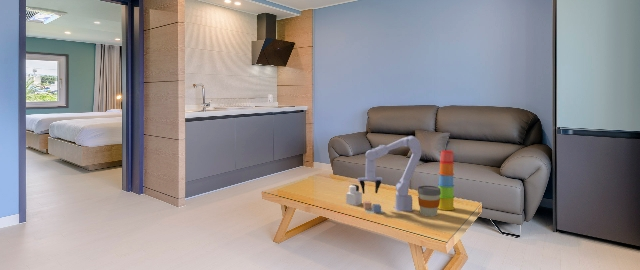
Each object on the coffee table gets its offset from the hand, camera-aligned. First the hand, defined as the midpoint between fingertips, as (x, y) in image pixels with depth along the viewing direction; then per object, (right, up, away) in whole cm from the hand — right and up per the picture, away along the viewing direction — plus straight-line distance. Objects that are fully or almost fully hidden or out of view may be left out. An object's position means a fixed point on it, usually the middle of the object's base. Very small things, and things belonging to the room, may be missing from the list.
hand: (369, 193), depth 217 cm
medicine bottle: (-8, -9, +11) cm, 17 cm away
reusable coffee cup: (+32, -11, -8) cm, 35 cm away
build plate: (+2, -10, -3) cm, 11 cm away
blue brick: (+3, -10, -6) cm, 12 cm away
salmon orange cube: (-1, -9, 0) cm, 9 cm away
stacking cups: (+46, -10, +2) cm, 47 cm away
